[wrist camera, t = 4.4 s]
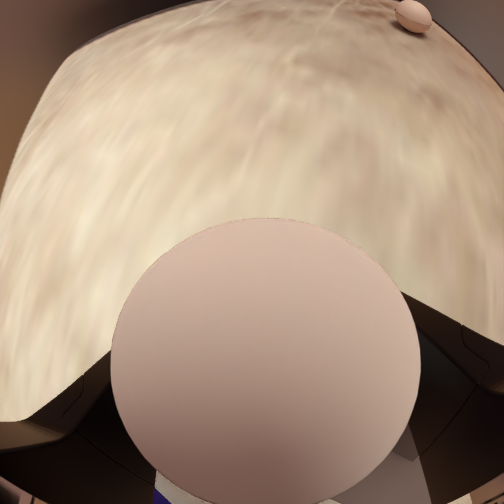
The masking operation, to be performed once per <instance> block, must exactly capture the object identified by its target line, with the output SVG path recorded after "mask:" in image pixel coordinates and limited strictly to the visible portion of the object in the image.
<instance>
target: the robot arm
mask: <svg viewBox="0 0 504 504" xmlns="http://www.w3.org/2000/svg"><path fill="white" fill-rule="evenodd" d="M400 292H401V291H400ZM401 294H402V296H403V298H404V299H405V301H406V303H407V305H408V308H409V310H410V312H411V315H412V318H413V321H414V323H415V327H416V331H417V336H418V341H419V346H420V361H421V372H420V380H419V387H418V394H417V398H416V401H415V404H414V408H413V411H412V413H411V416H410V419H409V421H408V425H409V428H410V431H411V434H412V437H413V440H414V443H415V446H416V449H417V453H418V456H420V457H419V460H420V463H421V466H422V470H423V473H424V477H425V480H426V484H427V488H428V492H429V496H430V500H431V504H447V503H450V502H452V501H454V500H456V499H458V498H460V497H462V496H464V495H466V494H468V493H469V494H470V497H471V501H472V504H504V346H503V345H501V344H499V343H496V342H494V341H492V340H490V339H488V338H486V337H484V336H482V335H480V334H479V333H477V332H475V331H473V330H471V329H469V328H468V327H466V326H464V325H462V326H461V324H460V323H458V322H457V321H455V320H453V319H451V318H449V317H448V316H446V315H444V314H442V313H440V312H439V311H437V310H435V309H433V308H431V307H429V306H427V305H426V304H424V303H422V302H420V301H418V300H416V299H414V298H412V297H411V296H409V295H407V294H405V293H403V292H401ZM155 479H156V469H155V468H154V467H153V466H152V465H151V464H150V463H149V462H148V461H147V460H146V459H145V458H144V456H143V455H142V453H141V452H140V451H139V449H138V448H137V446H136V445H135V444H134V442H133V441H132V439H131V437H130V436H129V434H128V432H127V430H126V428H125V426H124V424H123V422H122V419H121V417H120V415H119V412H118V410H117V407H116V403H115V399H114V394H113V389H112V384H111V350H110V351H109V352H108V353H107V354H105V355H104V356H103V357H102V358H101V359H100V360H99V361H97V362H96V363H95V364H94V365H93V366H92V367H91V368H89V369H88V370H87V371H86V372H85V373H84V375H81V376H80V377H79V378H78V379H77V380H76V381H75V382H74V383H72V384H71V385H70V386H69V387H68V388H67V389H65V390H64V391H63V392H62V393H60V394H59V395H58V396H57V397H55V398H54V399H53V400H51V401H50V402H49V403H47V404H46V405H45V406H43V407H42V408H41V409H40V410H38V411H37V412H36V413H34V414H33V415H32V416H30V417H29V418H27V419H24V420H21V421H16V422H0V504H153V500H154V490H155V486H154V485H155Z"/></svg>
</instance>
